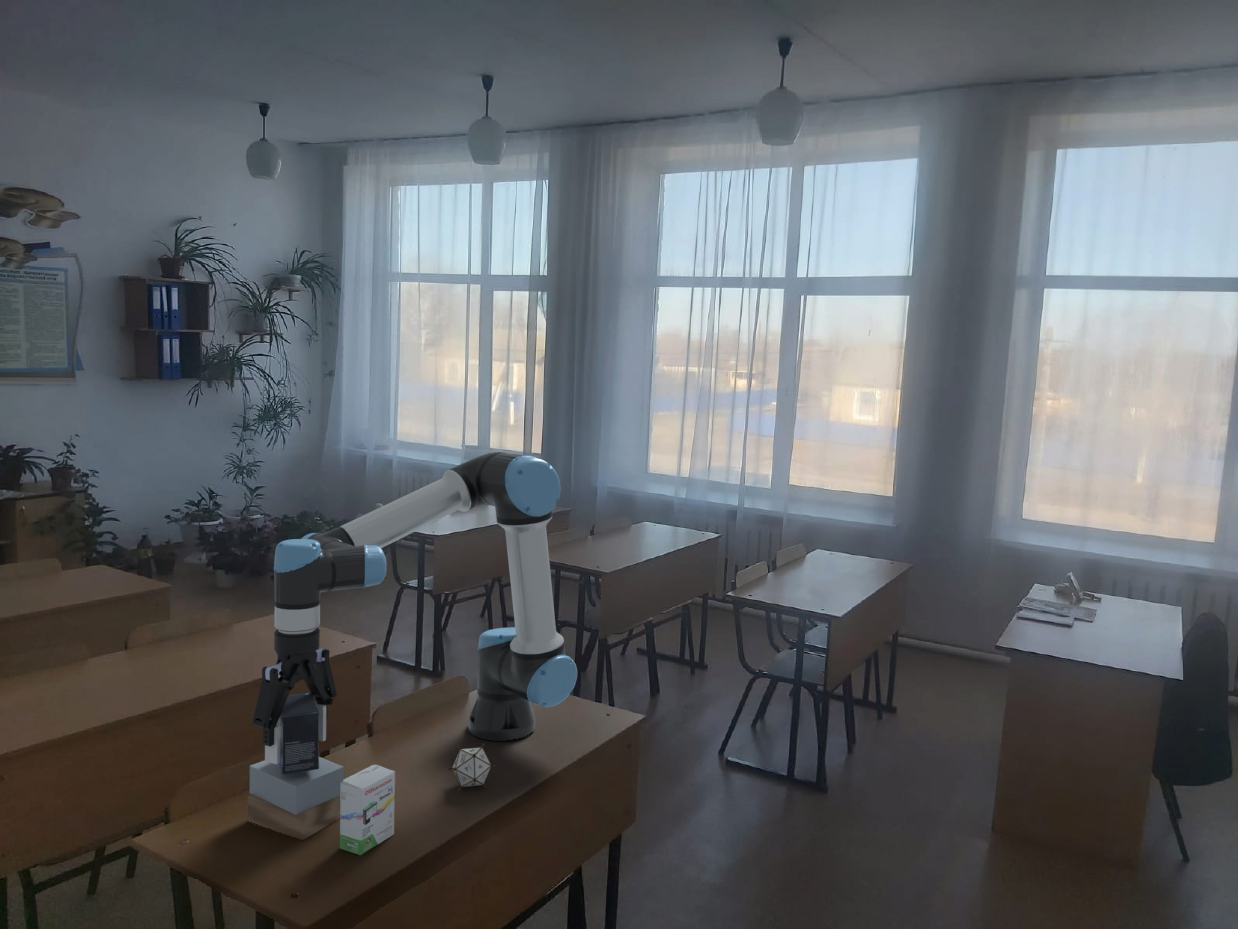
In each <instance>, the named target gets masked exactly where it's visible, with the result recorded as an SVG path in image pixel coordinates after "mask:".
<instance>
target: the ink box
mask: <svg viewBox="0 0 1238 929" xmlns="http://www.w3.org/2000/svg"><path fill="white" fill-rule="evenodd" d="M395 788H396V771H395V770H392V769H389V768H386V767H383V766H381V765H378V764H371V765H370V766H368V767H366V768H364V769H362V770H359V771H358V772H355V773H354V774H352V775H350V776H348V777H346V778H344V780H343V782H341V783H340V819H339V848H340V850H344V851H347V852H350V853H352V854H355V855H358V856H362V855H363V854H365V853H366V852H368V851H370V850H371V849H373V848H374V847H377V846H378V845H379V844H382V843H383V842H384V841H385V840H387V839H389V838H391V837H393V835H395V797H396V796H395V794H396V793H395V791H396V789H395Z"/></svg>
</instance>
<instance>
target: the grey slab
mask: <svg viewBox="0 0 1238 929" xmlns="http://www.w3.org/2000/svg"><path fill="white" fill-rule="evenodd" d="M344 774H345V767H344V766H343V765H341V764H338V763H336V762H333V761H331V760H328V759H325V758H323V757H321V756H319V769H317V770H310V771H303V772H297V773H290V774H282V771H281V767H280V763H279V764H273V763H270V762H266V761H265V759H264V760H261V761H259V762H256V763H254V764H250V765H249V794H250V795H251V794H253V795H255V796H257V797H259V798H262V799H264V800H266V801H268V802H270V803H272V804H274V805H276V806H278V807H280V808H283V809H285V810H287V811H289V812H291V813H293V814H295V815H296V814H299V813H301V812H303V811H305V810H308V809H310V808H312V807H314V806H317V805H319V804H321V803H323V802H326V801H328V800H330V799H333V798H335V797H337V796H339V795H340V783H341V782H343V780H344V779H345V775H344Z"/></svg>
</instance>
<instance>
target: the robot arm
mask: <svg viewBox="0 0 1238 929" xmlns="http://www.w3.org/2000/svg"><path fill="white" fill-rule="evenodd" d="M561 489H562V488H561V481H560V477H559V475H558V473H557V471H556V470H555V468H554V467H553V466H552V465H551V464H550V463H549V462H547V461H545V460H544V459H541V458H538V457H535V456H532V455H523V454H515V453H509V452H508V453H507V452H503V451H495V452H488V453H485V454H481V455H478V456H477V457H475V458H472V459H469V460H467V461H465V462H463V463H461V464H458V465H456V466H454V467H452V468H450V469H447V470H445V471H444V473H443V475H442V478H440V479H437V480H436V481H433V482H431V483H429V484H427V485H425V486H423V487H421V488H419V489H417V490H414V491H413V492H410V493H408V494H406V495H403V496H401V497H399V498H397V499H396V500H393V501H391V502H389V503H387V504H385V505H383V506H380V507H379V508H376V509H373V510H372V511H369V512H367V513H365V514H363V515H362V516H359V517H356V518H355V519H352V520H351V521H349V522H346V523H345V524H342V525H340V526H338V527H336V528H333V529H331V530H328V531H326V532H324V533H323V532H311V533H308V534H306V535H304V536H302V538H293V539H286V540H283V541H280V542H279V543H278V544H277V545H276V546H275V551H274V552H275V553H274V562H273V564H274V565H273V573H274V574H273V576H274V582H273V584H274V619H273V620H274V623H273V624H274V628H275V631H274V632H273V633H274V634H273V637H274V638H273V649H274V653H276V655H277V660H276V663H275V664H274V665H272V666H270V667H269V666H267V665H266V666H263V667H262V670H261V683H260V684H261V685H260V689H259V693H258V697H257V702H256V707H255V710H254V714H253V719H252V726H254V727H259V728H262V744H263V746H264V760H265V761H266V762H270V763H273V764H279V763H280V726H278V725H277V722H278V720H279V717H280V715H281V712H282V710H283V707H284V705H285V702H286V700H287V697H288V695H289V694H290V692H291V691H292V690H293V689H294V687H295V686H296V683H299V682H300V681H302V680H303V681H304V683H305V685H306V687H307V689H308V690H309V693H310V692H311V694H312V696H313V698H314V701H315V703H316V706H317V708H318V711H319V726H318V727H319V729H318V730H319V731H318V733H319V741H320V742H324V741H326V740H327V720H328V718H329V717H328V716H329V715H328V714H329V710H328V708H329V706H331V705H332V704H334V699H333V698H336V697H337V695H338V694H337V689H336V684H335V680H334V675H333V672H332V668H331V664H330V649H326V648H321V647H320V645H321V643H320V641H321V640H320V638H321V637H320V635H321V633H320V632H321V630H320V629H319V627H320V625H321V593H327V592H334V591H342V590H350V589H351V590H352V589H353V590H354V589H359V588H363V589H366V588H367V587H368V588H369V587H372V586H378V585H380V584H381V583H382V582H384V579H385V577H386V574H387V559H386V558H387V557H386V555H385V552H384V551H383V548H384V547H386V546H388V545H390V544H392V543H394V542H396V541H399V540H400V539H403V538H405V537H407V536H408V535H410V534H413V533H414V532H417V531H419V530H421V529H423V528H424V527H427V526H428V525H431V524H433V523H435V522H438V521H439V520H441V519H443V518H445V517H446V516H449V515H451V514H454V513H455V512H457V511H459V512H463V513H464V512H468V511H470V510H472V509H474V508H477V507H482V506H484V507H485V506H491V507H494V508H495V517H496V523H497V525H498V526H500V527H501V528H502V529H504V532H505V540H506V541H505V542H506V549H507V553H506V554H507V560H508V570H509V579H510V587H511V588H510V590H511V600H512V609H513V618H514V619H513V620H514V627H499V628H493V629H488V630H486V631H484V632H482V633H481V634H480V635H479V638H478V645H477V652H478V653H477V689H476V691H477V695H476V698H475V701H474V704H473V707H472V709H471V711H470V715H469V718H468V732H469V733H470V734H471V735H472V736H474V737H477V738H479V739H482V740H486V741H494V742H506V741H507V740H510V741H514V740H513V739H516V740H520V739H519V738H521V739H523V738H522V737H524V736H526V737H528V736H530V735H531V734H530V733H531V732H533V731H534V732H535V730H536V717H535V713H534V710H533V706H532V705H536V706H537V705H538V706H540V707H543V708H552V707H556V706H558V705H560V704H561V703H563V702H564V701H565V700H566V699H567V698H568V697H569V696H570V694H571V692H573V690H574V688H575V686H576V682H577V680H578V668H577V664H576V663H575V661H574V660H573V659H572V658H571V656H569V655H566V648H565V640H564V637H563V635H561V634H560V633H559V632H558V631H557V626H556V618H555V617H556V616H555V607H554V599H553V598H554V597H553V586H552V584H553V583H552V575H551V574H552V573H551V565H550V554H549V543H548V534H547V532H548V531H547V525H548V524H549V522H550V521H551V520H552V519H553V510H554V509H555V508H556V506H557V502H558V501H559V500H560V497H561ZM534 729H535V730H534ZM534 732H533V733H534ZM529 734H530V735H529ZM527 735H528V736H527ZM524 738H525V737H524ZM507 742H508V741H507Z"/></svg>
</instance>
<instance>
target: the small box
mask: <svg viewBox="0 0 1238 929" xmlns="http://www.w3.org/2000/svg"><path fill="white" fill-rule="evenodd" d="M316 703H317V702H316V701H315V699H314V697H313V696H312V694H311V692H310V691H309V692H304V693H303V692H302V693H296V694H290V695H288V697H287V700H286V702H285V705H284V707H283V710H282V712H281V715H280V717H279V720H278V722H277V725H278V726H280V767H281V771H282V774H290V773H297V772H303V771H310V770H317V769H319V757H320V756H319V755H320V754H319V752H320V751H319V750H320V749H319V748H320V747H319V746H320V745H319V733H318V731H319V730H318V729H319V727H318V726H319V711H318V708H317V706H316Z"/></svg>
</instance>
